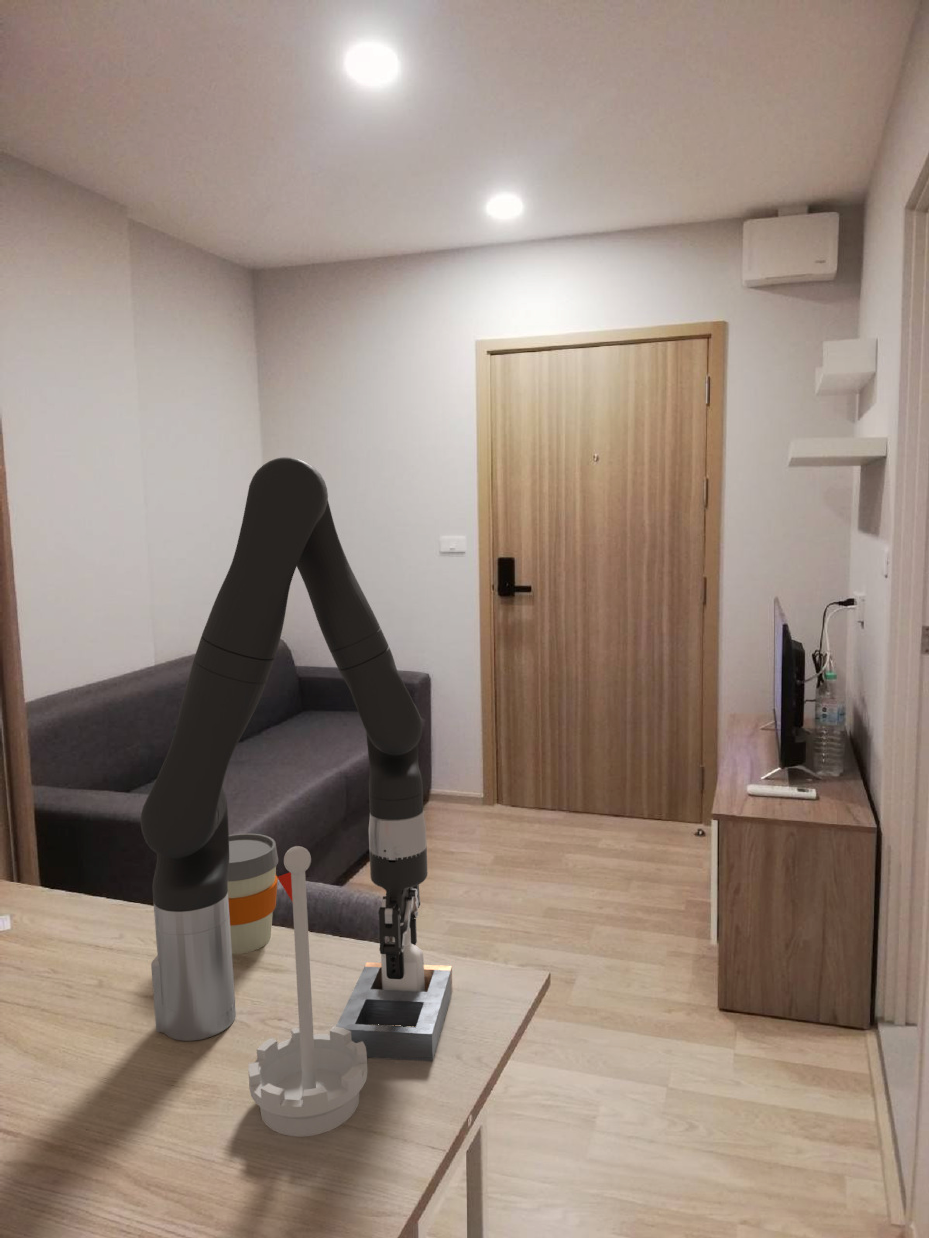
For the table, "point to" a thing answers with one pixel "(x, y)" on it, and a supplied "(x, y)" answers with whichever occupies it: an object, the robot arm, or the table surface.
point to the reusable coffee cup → (251, 890)
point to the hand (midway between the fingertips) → (402, 960)
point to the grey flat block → (398, 1014)
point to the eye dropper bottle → (406, 969)
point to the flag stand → (306, 1046)
